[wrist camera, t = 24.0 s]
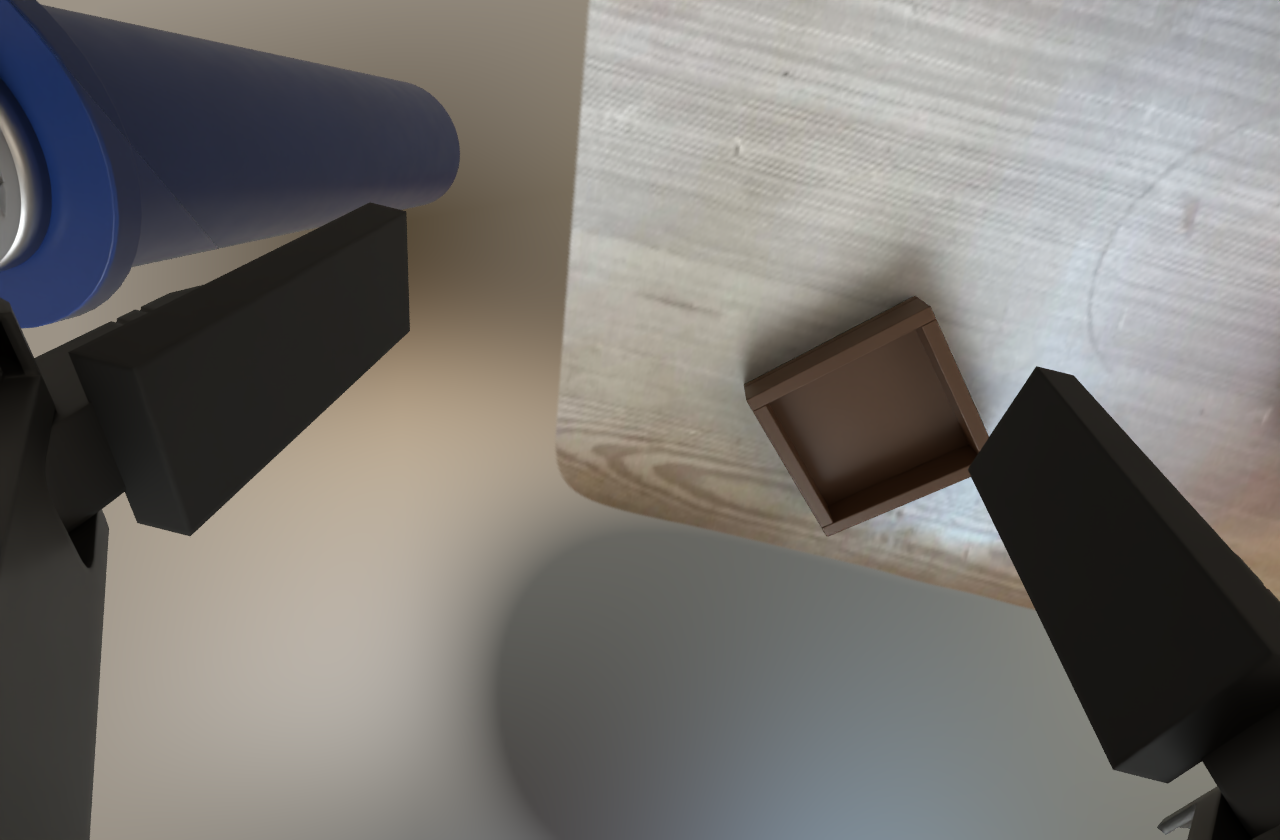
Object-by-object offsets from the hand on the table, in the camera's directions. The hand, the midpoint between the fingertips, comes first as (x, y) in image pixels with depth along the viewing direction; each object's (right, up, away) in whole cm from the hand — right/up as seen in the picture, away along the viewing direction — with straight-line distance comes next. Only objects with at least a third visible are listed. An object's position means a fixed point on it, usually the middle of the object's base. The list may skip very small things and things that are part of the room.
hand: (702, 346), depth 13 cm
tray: (+12, -1, +24) cm, 27 cm away
